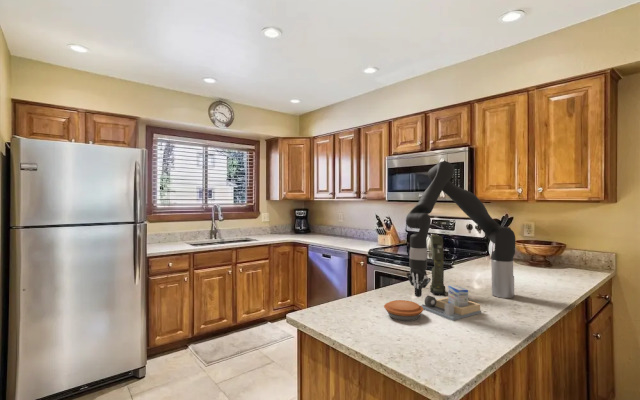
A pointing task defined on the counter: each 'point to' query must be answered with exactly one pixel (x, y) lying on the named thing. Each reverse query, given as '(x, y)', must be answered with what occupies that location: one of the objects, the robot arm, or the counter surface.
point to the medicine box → (457, 296)
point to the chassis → (453, 309)
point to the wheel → (430, 301)
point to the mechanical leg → (437, 266)
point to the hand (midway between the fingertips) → (418, 296)
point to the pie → (403, 310)
